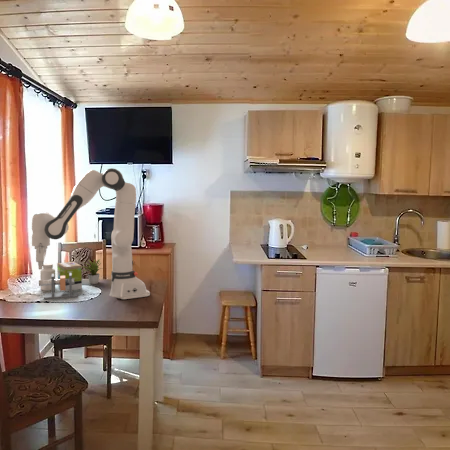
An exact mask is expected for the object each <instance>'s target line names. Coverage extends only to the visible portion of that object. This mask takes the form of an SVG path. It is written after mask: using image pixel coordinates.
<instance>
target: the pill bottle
mask: <svg viewBox="0 0 450 450" xmlns="http://www.w3.org/2000/svg"><path fill="white" fill-rule="evenodd" d="M53 267H54V264H53V263H44V264H43V266H42V269H41V270H39V271H40V272H39V273H40V276H39V277H40V278H39V279H40V280H51V276H52V274H54V279H56V270H55V268H53ZM40 290H41V291H52V285H46V286H40Z"/></svg>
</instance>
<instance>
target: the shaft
mask: <svg viewBox="0 0 450 450" xmlns="http://www.w3.org/2000/svg"><path fill="white" fill-rule="evenodd" d="M65 284H69V279H65ZM72 284H74V278H72ZM46 285H52V282H51V280H41V279H40V280H38V286H39V287H41V286H46ZM54 285H55V286H58V285H60V279H58V278H55V279H54Z"/></svg>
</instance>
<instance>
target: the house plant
mask: <svg viewBox="0 0 450 450" xmlns="http://www.w3.org/2000/svg"><path fill="white" fill-rule="evenodd" d="M88 262H89V263H87V262H84V264H86V265H87V266H82V265H81V268H83V272H85V271H88V272H89V273H87V278H88V283H89V284H90V285H94V284H95V285H96V284H99V279H100V273H98V272H99V270H101V269H102V270H103V269H104V267H103V268H100V267H99V266H101V264H102V262H101V258H99V259H97V260H96V259H95V258H94V259H93V261H91V260H90V259H88Z"/></svg>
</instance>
